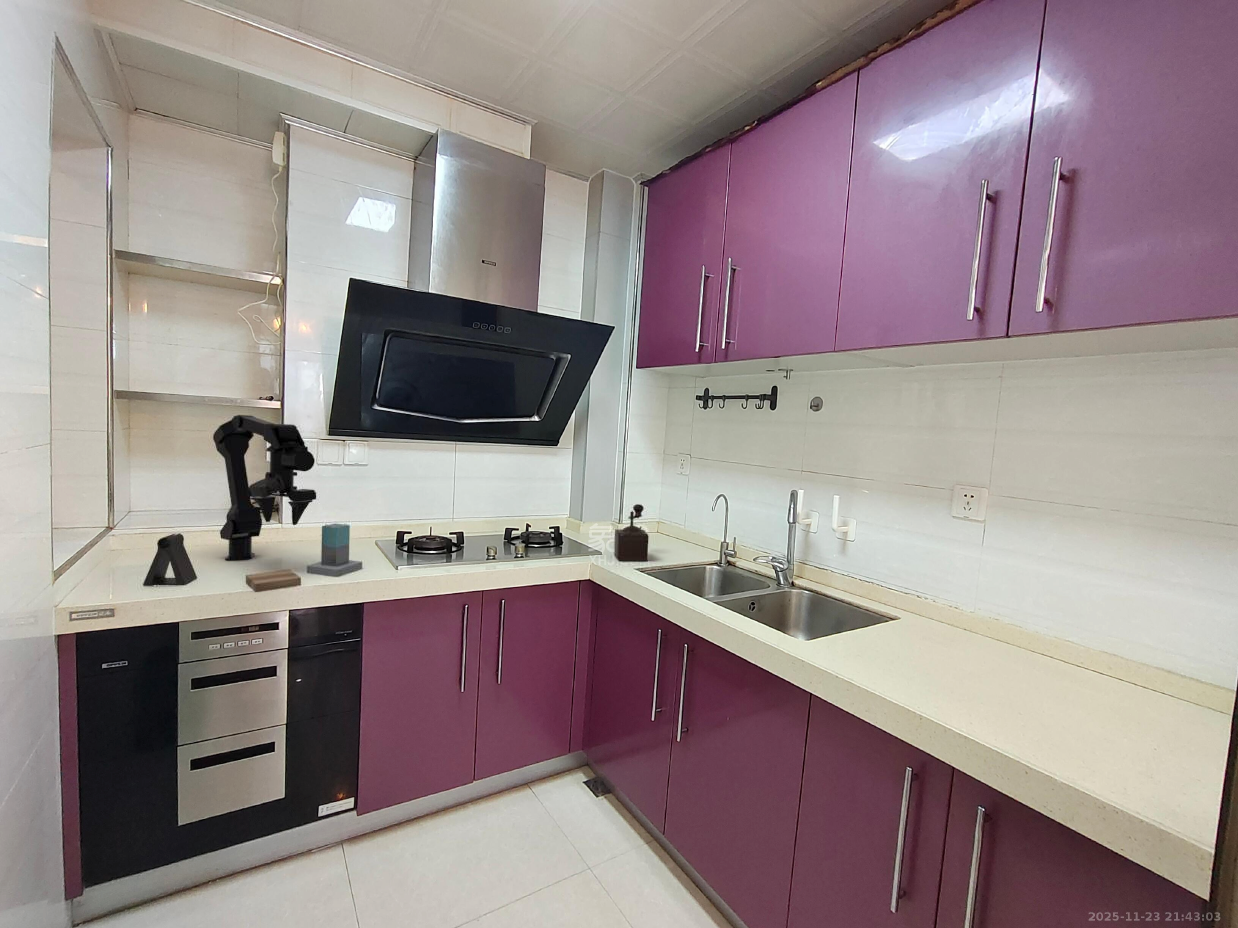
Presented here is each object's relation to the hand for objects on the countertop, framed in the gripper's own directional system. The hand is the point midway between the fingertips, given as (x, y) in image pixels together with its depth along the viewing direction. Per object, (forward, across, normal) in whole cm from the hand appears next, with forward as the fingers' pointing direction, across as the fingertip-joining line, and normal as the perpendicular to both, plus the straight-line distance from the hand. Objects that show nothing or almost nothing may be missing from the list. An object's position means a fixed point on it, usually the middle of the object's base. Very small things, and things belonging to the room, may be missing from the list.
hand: (281, 523), depth 156 cm
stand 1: (+13, +10, -12) cm, 21 cm away
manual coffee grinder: (+13, +88, +61) cm, 108 cm away
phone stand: (+13, -12, -21) cm, 28 cm away
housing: (+11, +14, +4) cm, 19 cm away
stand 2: (+13, +14, +4) cm, 20 cm away
